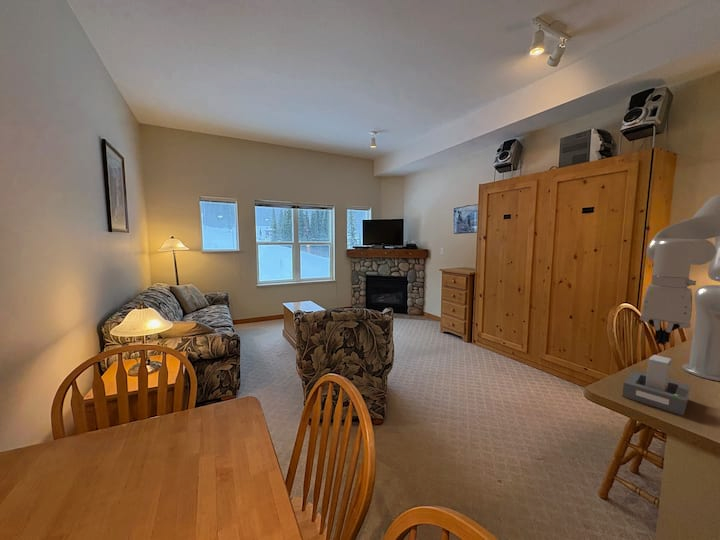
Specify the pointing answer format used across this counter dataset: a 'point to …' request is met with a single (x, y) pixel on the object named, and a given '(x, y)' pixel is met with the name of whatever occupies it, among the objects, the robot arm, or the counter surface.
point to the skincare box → (658, 372)
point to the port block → (657, 393)
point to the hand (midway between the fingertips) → (661, 343)
